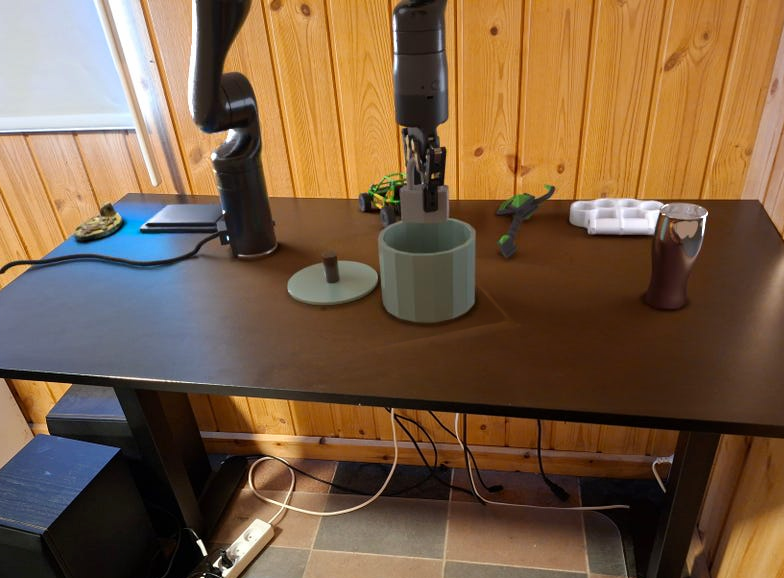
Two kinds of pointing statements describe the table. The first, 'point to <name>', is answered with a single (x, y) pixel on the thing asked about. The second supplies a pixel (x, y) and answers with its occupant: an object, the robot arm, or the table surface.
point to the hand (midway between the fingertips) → (425, 204)
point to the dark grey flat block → (185, 218)
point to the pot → (427, 269)
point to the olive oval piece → (100, 224)
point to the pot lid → (332, 281)
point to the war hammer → (519, 216)
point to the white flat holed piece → (616, 216)
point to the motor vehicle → (384, 199)
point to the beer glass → (674, 253)
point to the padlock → (421, 201)
